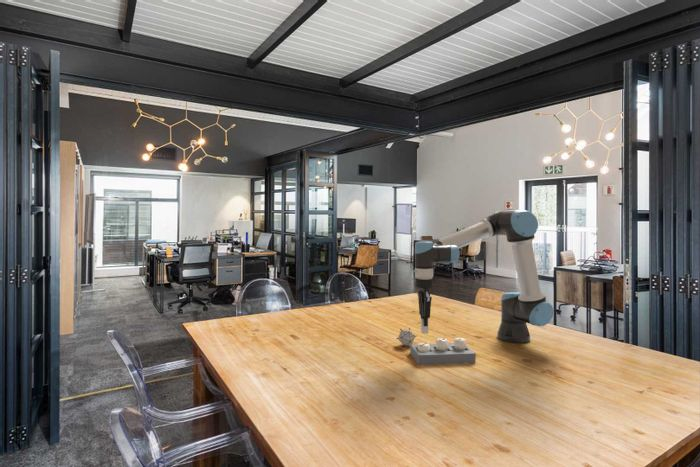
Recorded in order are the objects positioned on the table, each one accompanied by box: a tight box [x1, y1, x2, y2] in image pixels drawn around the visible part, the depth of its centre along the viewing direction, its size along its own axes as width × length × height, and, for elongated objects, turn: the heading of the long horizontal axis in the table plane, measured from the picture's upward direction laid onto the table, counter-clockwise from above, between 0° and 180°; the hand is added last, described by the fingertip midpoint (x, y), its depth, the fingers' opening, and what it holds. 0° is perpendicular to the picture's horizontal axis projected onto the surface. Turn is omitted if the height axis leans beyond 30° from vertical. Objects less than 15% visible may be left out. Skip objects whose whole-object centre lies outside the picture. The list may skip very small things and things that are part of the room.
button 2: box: [435, 337, 449, 351], centre depth 171 cm, size 5×5×5 cm
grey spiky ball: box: [396, 327, 417, 348], centre depth 188 cm, size 9×8×10 cm
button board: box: [409, 342, 477, 366], centre depth 172 cm, size 24×14×4 cm, turn 96°
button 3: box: [417, 342, 430, 352], centre depth 171 cm, size 5×5×5 cm
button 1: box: [453, 337, 467, 351], centre depth 172 cm, size 5×5×5 cm
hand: (424, 332), depth 171 cm, fingers closed
